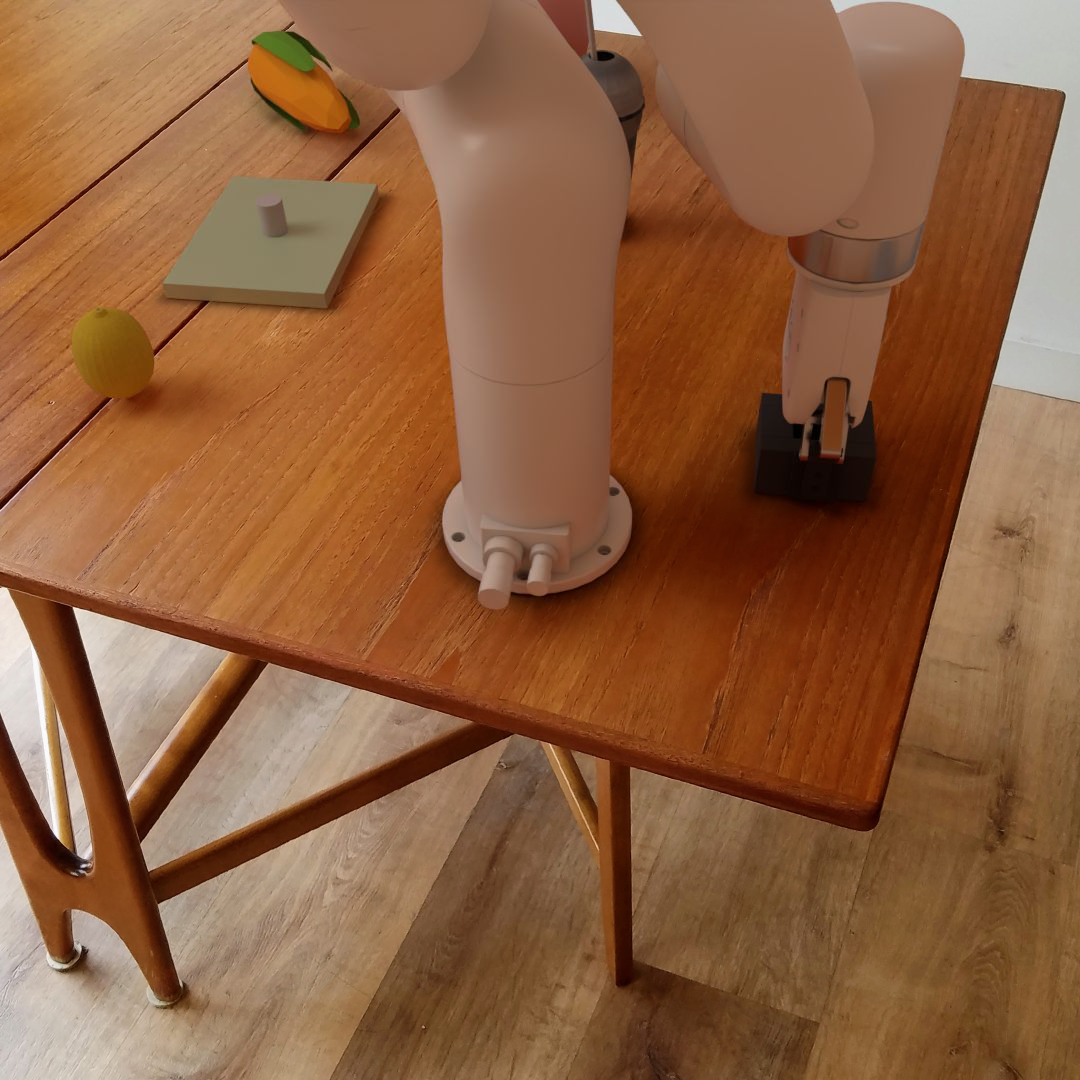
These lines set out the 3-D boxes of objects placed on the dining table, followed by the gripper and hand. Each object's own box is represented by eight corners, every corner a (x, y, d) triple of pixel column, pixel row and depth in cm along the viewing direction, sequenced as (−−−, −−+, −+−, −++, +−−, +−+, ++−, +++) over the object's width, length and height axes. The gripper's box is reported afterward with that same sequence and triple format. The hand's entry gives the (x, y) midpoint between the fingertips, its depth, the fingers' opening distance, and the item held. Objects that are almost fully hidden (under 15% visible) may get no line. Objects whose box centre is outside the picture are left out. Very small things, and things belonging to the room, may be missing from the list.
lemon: (104, 429, 85) (70, 341, 79) (82, 390, 89) (48, 302, 83) (176, 403, 87) (147, 315, 81) (152, 366, 91) (123, 278, 85)
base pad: (327, 309, 95) (318, 261, 92) (166, 298, 97) (152, 251, 94) (379, 198, 108) (373, 153, 104) (236, 190, 109) (225, 145, 106)
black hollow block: (865, 502, 78) (876, 458, 75) (754, 493, 79) (760, 449, 76) (861, 444, 82) (872, 400, 79) (755, 436, 83) (761, 392, 80)
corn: (286, 3, 121) (375, 69, 109) (303, 73, 127) (389, 144, 115) (221, 25, 119) (304, 96, 107) (242, 96, 124) (323, 170, 112)
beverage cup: (633, 252, 100) (642, 18, 86) (551, 245, 101) (547, 12, 87) (645, 210, 105) (655, -19, 91) (566, 203, 106) (564, -24, 92)
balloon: (377, 110, 120) (357, -46, 109) (532, 58, 128) (528, -92, 117) (458, 167, 111) (445, 4, 100) (619, 107, 119) (623, -50, 108)
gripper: (788, 159, 74) (757, 382, 87) (789, 316, 62) (753, 547, 75) (909, 164, 73) (859, 389, 86) (933, 325, 61) (872, 557, 74)
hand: (810, 460), depth 80 cm, fingers open, 6 cm apart
